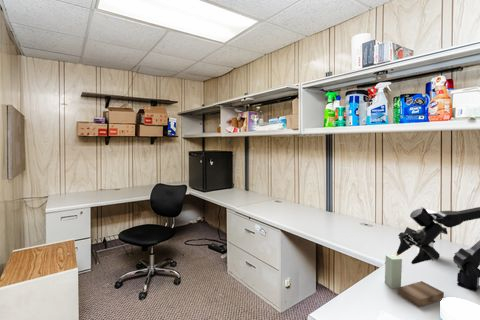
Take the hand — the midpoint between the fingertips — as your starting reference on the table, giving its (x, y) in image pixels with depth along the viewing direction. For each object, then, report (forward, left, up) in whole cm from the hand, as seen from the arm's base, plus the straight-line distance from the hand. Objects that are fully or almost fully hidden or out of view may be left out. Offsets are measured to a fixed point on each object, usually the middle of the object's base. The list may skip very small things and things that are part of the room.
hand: (404, 258), depth 117 cm
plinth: (-9, +4, -12) cm, 15 cm away
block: (+2, +4, -12) cm, 13 cm away
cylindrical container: (+6, -42, -12) cm, 44 cm away
